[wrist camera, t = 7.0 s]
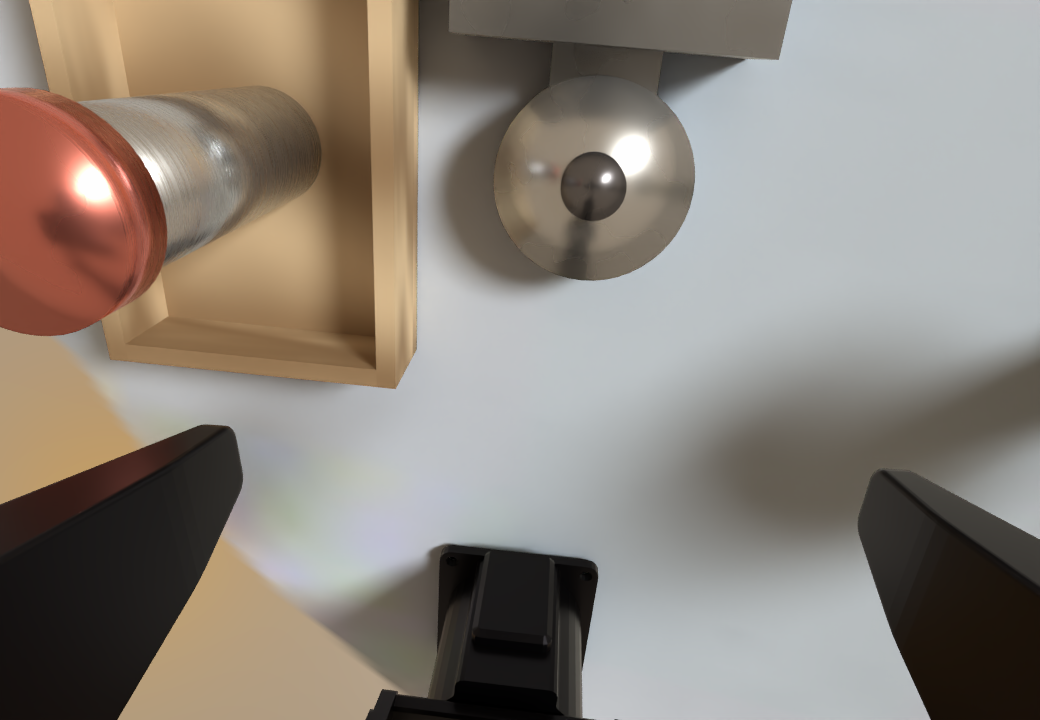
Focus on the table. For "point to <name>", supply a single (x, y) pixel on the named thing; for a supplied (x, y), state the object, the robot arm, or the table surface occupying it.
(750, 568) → the table surface
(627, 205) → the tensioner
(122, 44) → the tray
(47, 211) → the pin
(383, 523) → the table surface
